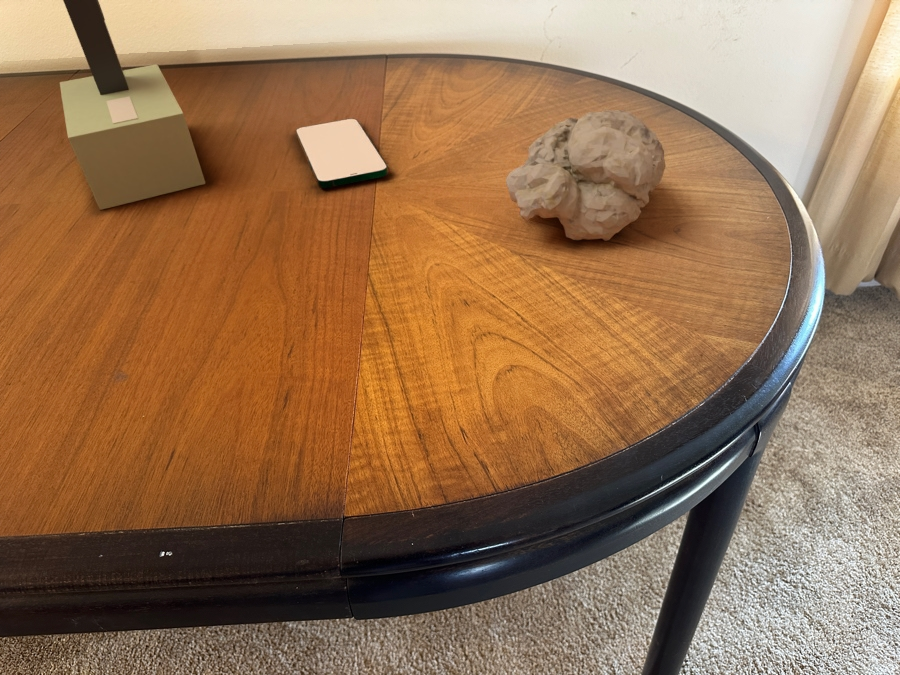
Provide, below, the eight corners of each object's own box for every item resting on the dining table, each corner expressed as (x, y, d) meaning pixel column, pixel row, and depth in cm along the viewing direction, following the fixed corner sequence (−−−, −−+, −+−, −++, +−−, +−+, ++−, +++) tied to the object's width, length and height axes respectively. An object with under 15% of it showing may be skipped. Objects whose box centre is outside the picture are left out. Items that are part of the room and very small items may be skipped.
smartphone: (295, 135, 81) (319, 191, 69) (293, 128, 80) (317, 183, 68) (357, 124, 82) (391, 176, 71) (356, 117, 82) (390, 168, 70)
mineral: (470, 187, 64) (496, 116, 55) (601, 131, 70) (644, 59, 61) (540, 288, 61) (580, 231, 52) (671, 220, 67) (727, 158, 58)
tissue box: (87, 147, 81) (58, 81, 75) (178, 127, 84) (156, 63, 79) (100, 210, 68) (67, 136, 63) (205, 183, 72) (183, 112, 66)
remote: (100, 95, 71) (47, -39, 63) (97, 81, 75) (47, -48, 66) (130, 89, 72) (82, -44, 64) (126, 76, 76) (80, -52, 67)
